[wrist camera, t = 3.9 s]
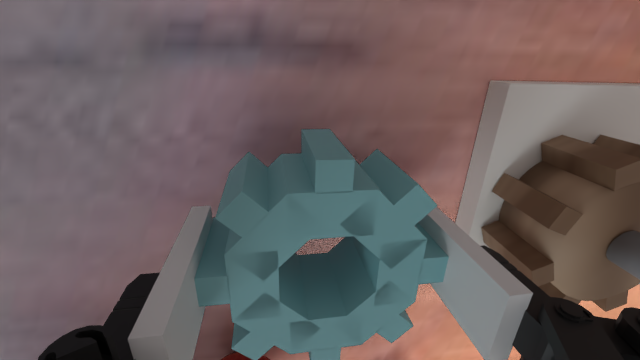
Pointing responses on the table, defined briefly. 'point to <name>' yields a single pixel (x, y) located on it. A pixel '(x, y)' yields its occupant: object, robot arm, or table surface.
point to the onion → (241, 357)
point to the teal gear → (325, 268)
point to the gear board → (537, 127)
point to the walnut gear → (571, 218)
